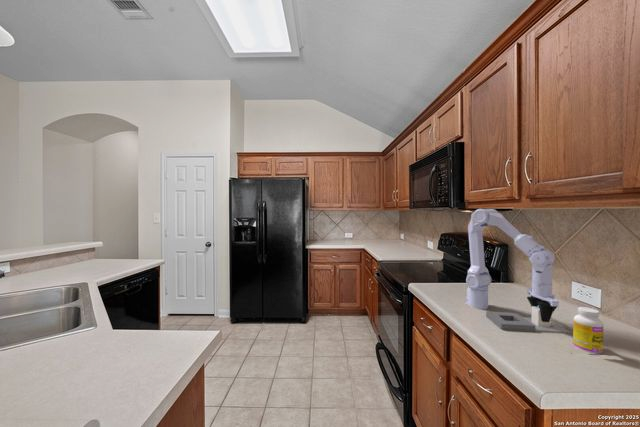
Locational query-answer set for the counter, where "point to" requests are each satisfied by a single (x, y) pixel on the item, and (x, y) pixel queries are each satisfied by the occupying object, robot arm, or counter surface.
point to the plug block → (538, 317)
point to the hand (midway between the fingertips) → (541, 319)
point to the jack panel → (520, 323)
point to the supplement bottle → (588, 331)
